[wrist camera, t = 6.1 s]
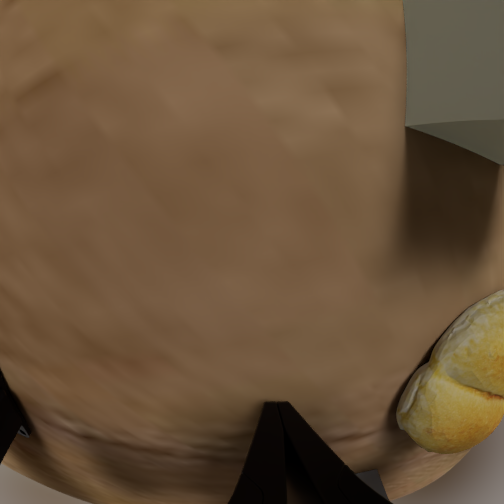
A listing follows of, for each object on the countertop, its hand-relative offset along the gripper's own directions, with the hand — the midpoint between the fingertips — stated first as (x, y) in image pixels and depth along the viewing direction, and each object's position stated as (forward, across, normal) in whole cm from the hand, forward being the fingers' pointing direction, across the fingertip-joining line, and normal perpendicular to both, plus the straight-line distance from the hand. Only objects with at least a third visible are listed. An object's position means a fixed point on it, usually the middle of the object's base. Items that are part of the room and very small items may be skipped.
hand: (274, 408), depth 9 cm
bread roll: (+1, -10, 0) cm, 10 cm away
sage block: (+1, -6, -12) cm, 13 cm away
